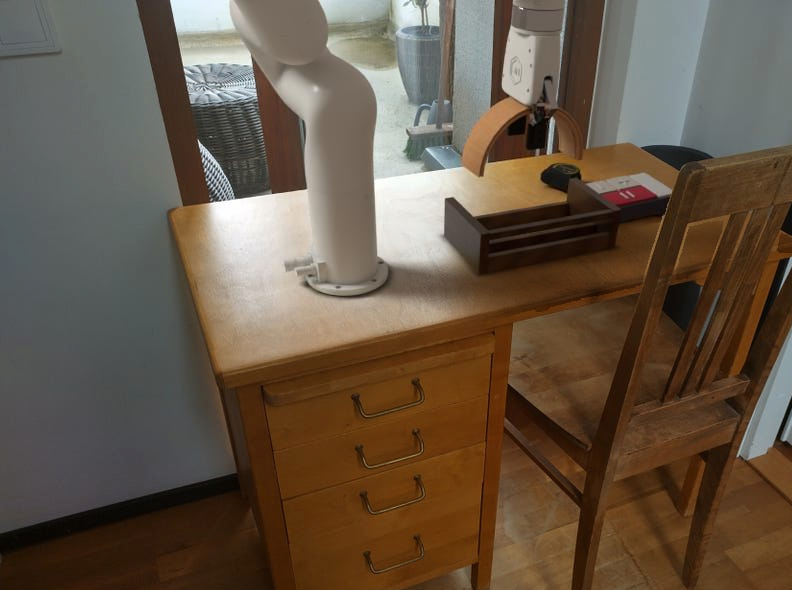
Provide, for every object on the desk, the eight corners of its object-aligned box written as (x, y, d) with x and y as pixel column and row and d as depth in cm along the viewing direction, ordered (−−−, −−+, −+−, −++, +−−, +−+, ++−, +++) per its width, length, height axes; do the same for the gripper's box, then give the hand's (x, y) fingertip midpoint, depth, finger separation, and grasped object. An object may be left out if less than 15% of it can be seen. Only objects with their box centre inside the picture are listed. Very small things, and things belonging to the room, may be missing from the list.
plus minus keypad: (578, 182, 134) (645, 168, 138) (576, 204, 136) (642, 189, 141) (610, 206, 126) (680, 190, 130) (607, 228, 128) (676, 212, 133)
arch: (582, 160, 119) (592, 99, 113) (478, 177, 110) (482, 112, 105) (562, 148, 123) (571, 88, 117) (460, 164, 114) (463, 100, 109)
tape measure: (537, 186, 141) (539, 167, 139) (558, 176, 145) (560, 158, 143) (565, 196, 137) (567, 178, 135) (586, 186, 141) (588, 168, 139)
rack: (478, 275, 112) (481, 234, 108) (443, 236, 122) (444, 198, 118) (615, 247, 121) (622, 209, 117) (571, 213, 131) (576, 177, 127)
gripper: (488, 8, 109) (481, 126, 119) (543, 34, 96) (529, 163, 107) (532, 6, 111) (521, 122, 122) (590, 31, 99) (572, 158, 110)
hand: (525, 140), depth 114 cm, fingers closed on arch, 5 cm apart
